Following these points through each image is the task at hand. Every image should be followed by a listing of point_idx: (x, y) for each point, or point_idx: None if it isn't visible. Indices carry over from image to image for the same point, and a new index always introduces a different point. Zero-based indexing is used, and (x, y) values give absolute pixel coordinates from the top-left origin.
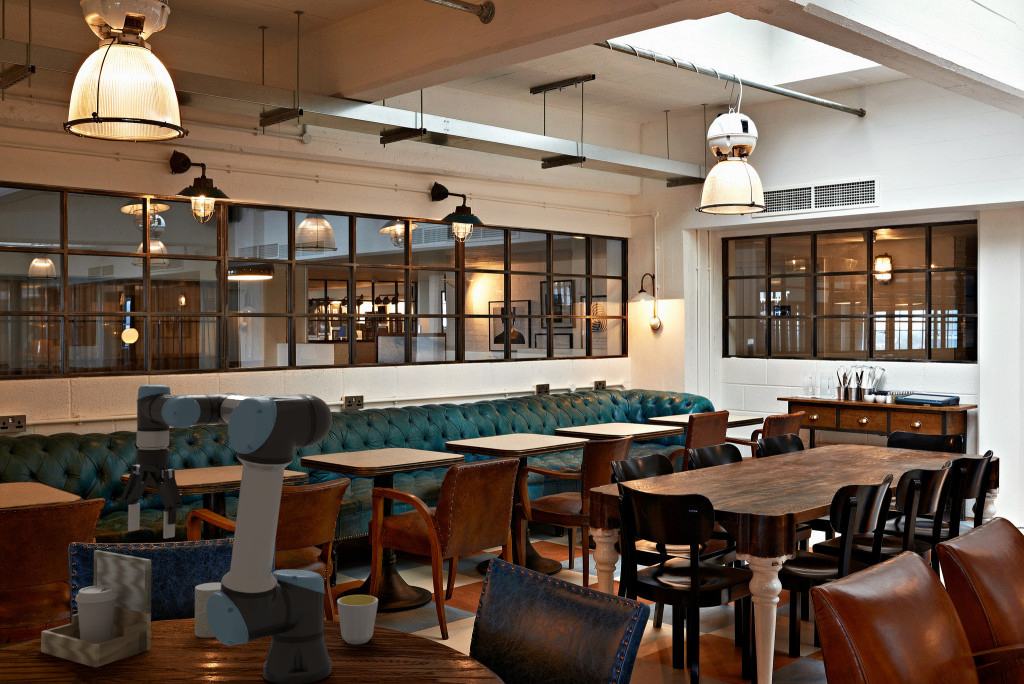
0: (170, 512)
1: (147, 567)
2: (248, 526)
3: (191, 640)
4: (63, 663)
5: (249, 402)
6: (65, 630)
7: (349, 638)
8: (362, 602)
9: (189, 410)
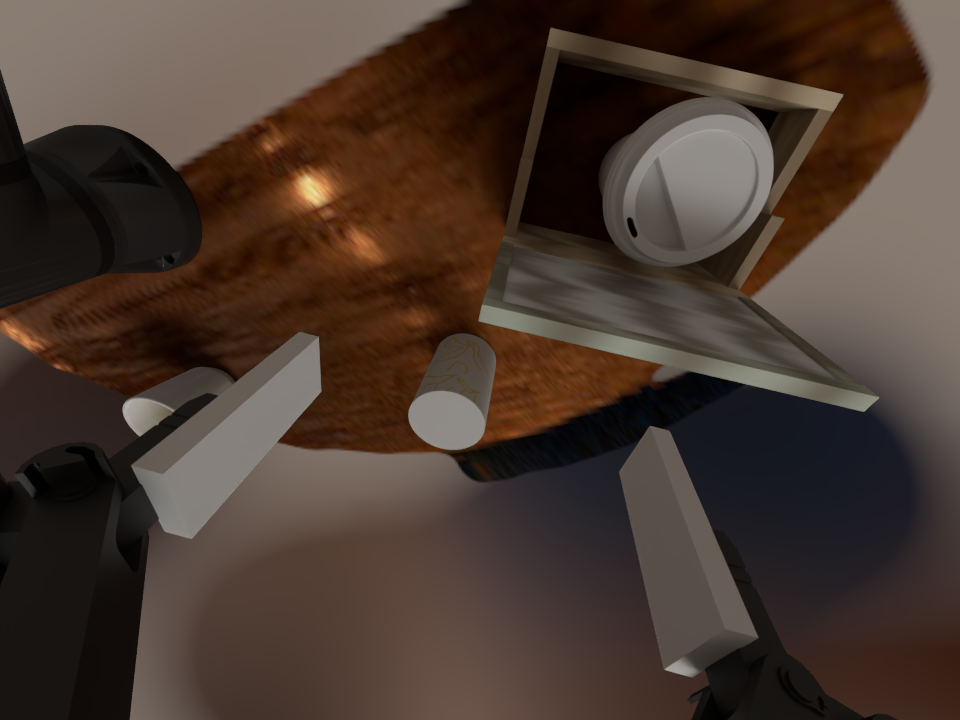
0: (114, 466)
1: (488, 292)
2: None
3: (467, 311)
4: (666, 33)
5: None
6: None
7: (200, 367)
8: None
9: None
